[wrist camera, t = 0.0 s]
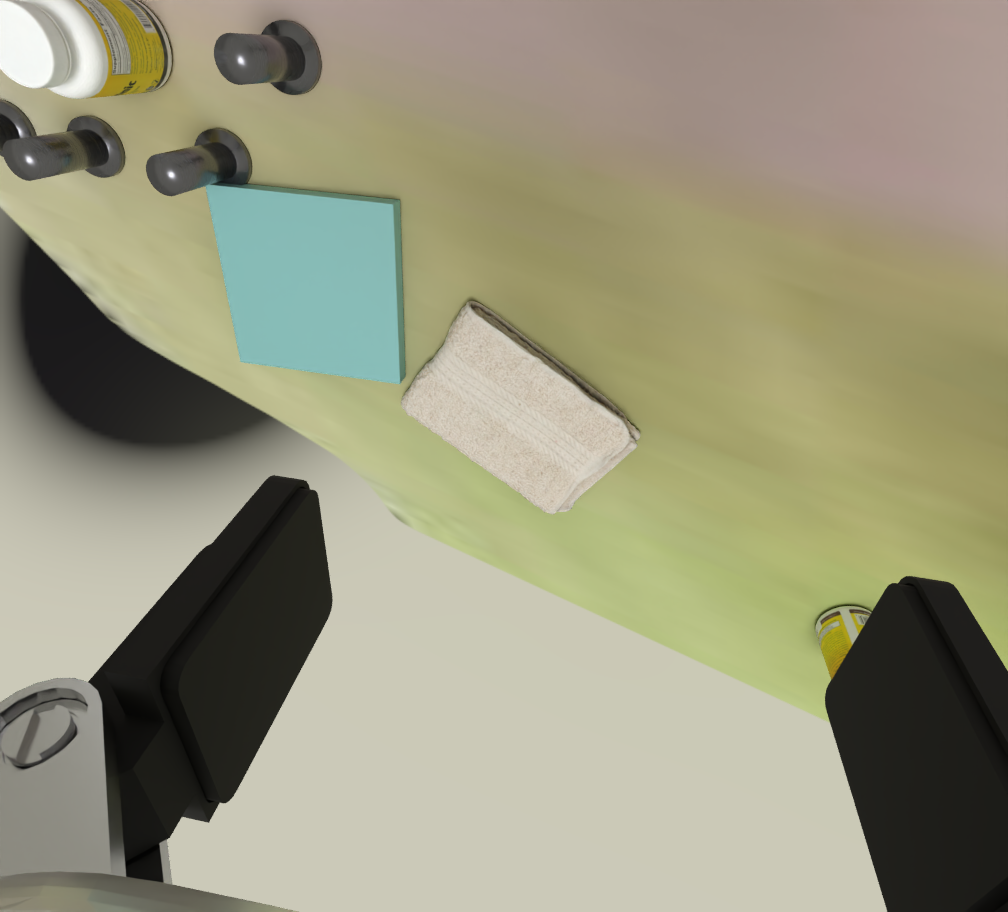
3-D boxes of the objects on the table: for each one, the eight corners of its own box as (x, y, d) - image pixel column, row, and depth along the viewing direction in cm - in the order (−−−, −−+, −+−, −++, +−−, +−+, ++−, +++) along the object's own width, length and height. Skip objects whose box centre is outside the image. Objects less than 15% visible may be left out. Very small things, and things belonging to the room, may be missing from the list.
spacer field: (-112, -138, 37) (-246, -173, 31) (305, -117, 34) (240, -152, 29) (0, 164, 47) (-87, 180, 41) (333, 200, 44) (289, 222, 38)
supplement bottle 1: (110, 87, 42) (-12, 95, 34) (88, -10, 39) (-52, -26, 31) (182, 97, 42) (77, 108, 34) (166, 0, 39) (45, -14, 31)
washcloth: (561, 507, 57) (558, 528, 54) (399, 397, 53) (388, 414, 50) (649, 423, 50) (650, 443, 48) (472, 292, 46) (463, 306, 44)
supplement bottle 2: (815, 644, 60) (845, 740, 52) (812, 605, 57) (843, 700, 49) (878, 640, 58) (920, 739, 50) (878, 600, 56) (923, 697, 47)
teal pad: (216, 180, 45) (205, 184, 43) (399, 200, 43) (393, 204, 42) (249, 354, 52) (240, 362, 51) (405, 376, 51) (399, 384, 50)
